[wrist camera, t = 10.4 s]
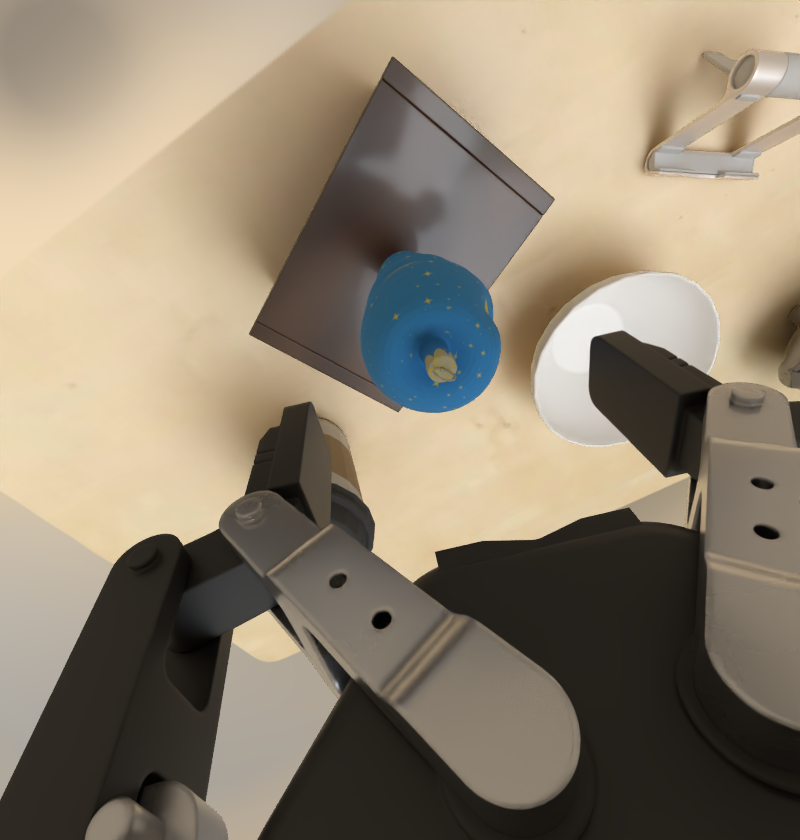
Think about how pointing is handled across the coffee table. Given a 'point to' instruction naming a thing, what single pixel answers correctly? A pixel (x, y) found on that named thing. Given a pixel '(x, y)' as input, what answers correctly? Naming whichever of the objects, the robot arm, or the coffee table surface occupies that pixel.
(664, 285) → the bowl
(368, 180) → the wooden drawer cabinet
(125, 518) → the coffee table surface
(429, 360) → the ornament
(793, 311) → the piggy bank
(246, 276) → the coffee table surface
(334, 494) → the coffee cup
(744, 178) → the tablet stand
